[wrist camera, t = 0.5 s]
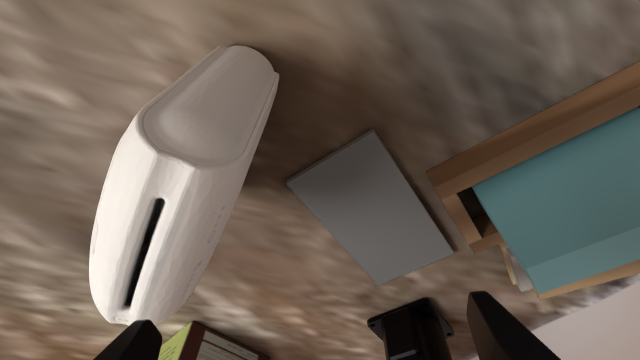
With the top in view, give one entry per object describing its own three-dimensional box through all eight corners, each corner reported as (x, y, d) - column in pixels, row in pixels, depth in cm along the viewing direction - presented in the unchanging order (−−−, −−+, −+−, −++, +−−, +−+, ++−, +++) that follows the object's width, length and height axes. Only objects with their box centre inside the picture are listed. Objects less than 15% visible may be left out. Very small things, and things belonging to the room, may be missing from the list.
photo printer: (232, 194, 24) (162, 368, 14) (174, 170, 23) (50, 341, 13) (291, 66, 19) (251, 192, 9) (220, 29, 18) (75, 120, 7)
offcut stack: (651, 233, 26) (686, 262, 24) (508, 275, 29) (525, 305, 27) (653, 188, 24) (691, 214, 21) (496, 239, 27) (514, 267, 24)
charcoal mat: (452, 249, 27) (454, 253, 26) (377, 280, 29) (377, 285, 29) (372, 128, 21) (373, 131, 20) (286, 179, 23) (285, 183, 23)
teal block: (633, 132, 21) (777, 212, 14) (479, 202, 24) (538, 294, 17) (627, 102, 20) (780, 173, 13) (467, 180, 23) (525, 268, 16)
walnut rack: (676, 144, 21) (706, 159, 20) (464, 235, 26) (474, 254, 24) (665, 47, 18) (700, 56, 16) (425, 171, 23) (434, 188, 21)
